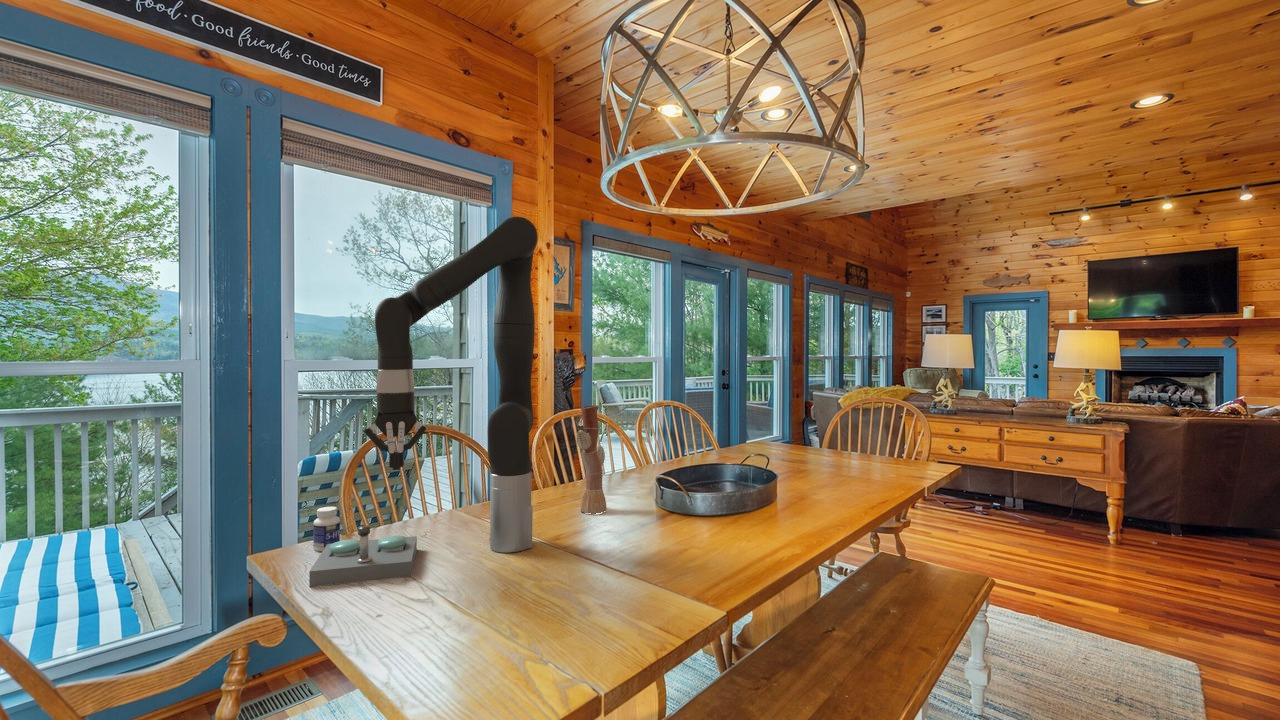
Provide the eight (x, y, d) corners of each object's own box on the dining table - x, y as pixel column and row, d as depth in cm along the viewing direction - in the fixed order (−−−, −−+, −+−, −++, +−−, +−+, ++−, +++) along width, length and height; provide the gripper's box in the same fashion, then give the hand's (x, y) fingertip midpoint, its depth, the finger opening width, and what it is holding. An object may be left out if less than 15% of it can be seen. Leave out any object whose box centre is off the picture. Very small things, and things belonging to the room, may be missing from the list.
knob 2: (407, 554, 125) (407, 534, 125) (405, 564, 120) (405, 542, 120) (379, 557, 123) (379, 537, 123) (376, 567, 118) (376, 545, 118)
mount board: (416, 549, 129) (416, 536, 129) (411, 576, 113) (411, 561, 113) (327, 557, 123) (327, 543, 123) (309, 587, 108) (309, 571, 108)
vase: (599, 506, 166) (599, 403, 165) (613, 511, 160) (614, 405, 159) (567, 512, 159) (568, 405, 159) (581, 518, 153) (582, 407, 153)
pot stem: (372, 557, 115) (372, 524, 115) (370, 562, 112) (370, 528, 112) (357, 559, 114) (357, 525, 114) (355, 564, 112) (355, 530, 112)
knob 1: (362, 559, 122) (362, 538, 122) (358, 568, 117) (358, 547, 117) (333, 562, 121) (333, 541, 120) (327, 571, 115) (327, 549, 115)
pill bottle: (328, 552, 126) (328, 512, 126) (307, 550, 127) (307, 511, 127) (345, 544, 131) (345, 506, 131) (325, 542, 132) (325, 505, 132)
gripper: (428, 388, 129) (429, 464, 130) (364, 389, 125) (365, 468, 125) (427, 390, 122) (428, 470, 123) (359, 392, 118) (360, 475, 118)
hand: (396, 469), depth 124 cm, fingers closed
